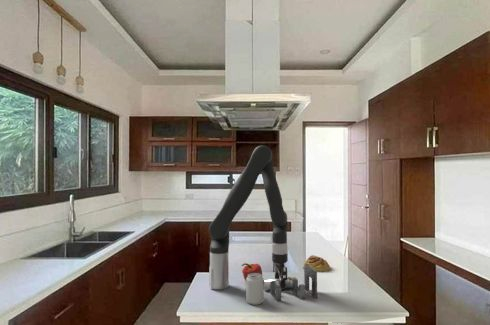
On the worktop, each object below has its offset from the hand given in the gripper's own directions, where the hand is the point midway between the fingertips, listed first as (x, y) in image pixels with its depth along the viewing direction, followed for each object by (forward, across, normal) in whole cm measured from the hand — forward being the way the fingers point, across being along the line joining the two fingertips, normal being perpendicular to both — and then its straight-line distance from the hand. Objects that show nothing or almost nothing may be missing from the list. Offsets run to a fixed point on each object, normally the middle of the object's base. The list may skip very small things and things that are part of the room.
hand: (280, 285), depth 170 cm
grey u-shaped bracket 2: (+2, +10, +6) cm, 12 cm away
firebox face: (+2, +10, +12) cm, 15 cm away
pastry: (+2, -26, +31) cm, 40 cm away
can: (+2, +13, -16) cm, 21 cm away
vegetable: (+2, -12, -11) cm, 16 cm away
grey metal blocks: (+2, +10, -6) cm, 12 cm away
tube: (+2, 0, 0) cm, 2 cm away
